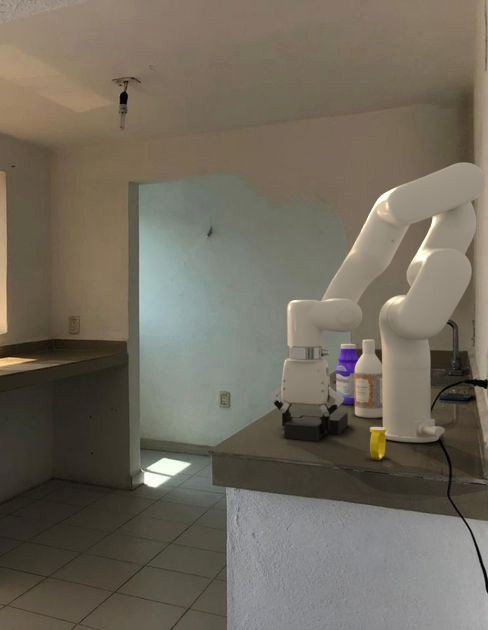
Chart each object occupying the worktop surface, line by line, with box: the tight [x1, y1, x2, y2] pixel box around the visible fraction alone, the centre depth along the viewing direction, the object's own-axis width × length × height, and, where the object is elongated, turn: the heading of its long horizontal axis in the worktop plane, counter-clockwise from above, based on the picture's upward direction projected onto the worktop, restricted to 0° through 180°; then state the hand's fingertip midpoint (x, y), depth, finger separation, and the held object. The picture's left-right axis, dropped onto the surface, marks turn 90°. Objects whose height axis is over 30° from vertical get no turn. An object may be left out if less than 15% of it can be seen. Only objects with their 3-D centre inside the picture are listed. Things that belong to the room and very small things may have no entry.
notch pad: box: [290, 408, 349, 435], centre depth 157 cm, size 12×12×3 cm
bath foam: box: [354, 339, 383, 419], centre depth 170 cm, size 7×7×20 cm
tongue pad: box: [283, 416, 325, 442], centre depth 149 cm, size 7×12×3 cm, turn 147°
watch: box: [369, 426, 387, 461], centre depth 127 cm, size 6×3×6 cm, turn 141°
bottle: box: [335, 343, 360, 406], centre depth 190 cm, size 7×6×17 cm
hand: (305, 431), depth 148 cm, fingers open, 7 cm apart
